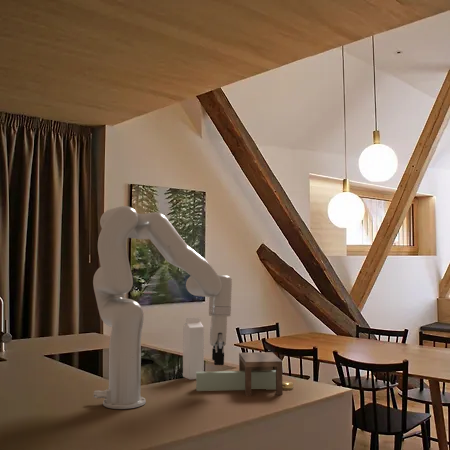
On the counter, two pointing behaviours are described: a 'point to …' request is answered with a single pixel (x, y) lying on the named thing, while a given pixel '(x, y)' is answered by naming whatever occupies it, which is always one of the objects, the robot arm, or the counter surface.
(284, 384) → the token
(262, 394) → the counter surface
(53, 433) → the counter surface
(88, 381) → the counter surface
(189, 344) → the milk
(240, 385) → the slat
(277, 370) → the brown wooden stool
